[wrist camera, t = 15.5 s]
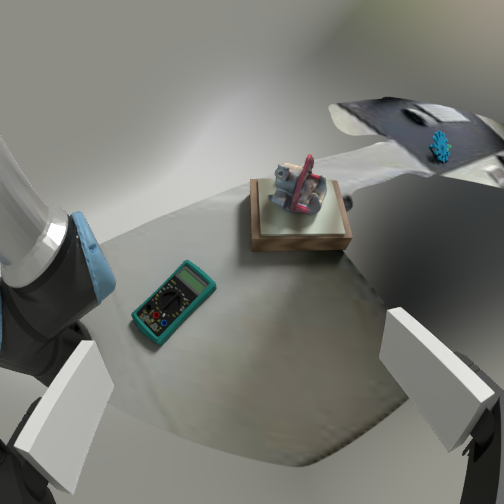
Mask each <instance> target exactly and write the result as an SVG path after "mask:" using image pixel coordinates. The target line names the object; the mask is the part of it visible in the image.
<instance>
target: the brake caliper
mask: <svg viewBox="0 0 504 504" xmlns="http://www.w3.org/2000/svg"><path fill="white" fill-rule="evenodd" d="M313 165H314V159H313V157H312V155H311V154H309V155H308V156H307V158H306V162H305V165H304V167H303V168H302V167H300V166H296V165H292V164H288V163H283V164H282V165H281V164H279V165H278V168H277V170H276V171H275V176H276V180H275V185H276V188H277V189H276V192H275V195H268V199H269V200H270V201H272V202H273V203H274V204H276V205H278V206H280V207H282V208H283V209H284V210H285V211H288V212H292V213H293V212H300V213H305V214H307V215H311V214H316V213H318V212H319V211H320V209H321V207H322V202H323V200H324V198H325V196H326V193H327V186H326V179H325V177H324V176H322V175H321V176H318V175H314V174H312V168H313Z"/></svg>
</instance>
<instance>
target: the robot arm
mask: <svg viewBox="0 0 504 504" xmlns="http://www.w3.org/2000/svg"><path fill="white" fill-rule="evenodd" d="M0 264H1V275H2V277H0V367H2V368H6V369H9V370H12V371H16V372H20V373H24V374H28V375H31V376H34V377H35V378H36V379H37V380H39V381H40V382H42V383H43V384H44V385H45V386H47V387H48V389H47V391H46V393H45V394H44V396H43V397H39V398H38V399H37V400H36V401H34V402H33V403H32V404H31V406H30V407H29V409H28V411H27V413H26V414H25V415H24V417H23V418H22V421H21V422H20V423H19V425H18V427H17V428H16V430H15V432H14V433H13V435H12V437H11V439H10V440H9V442H8V444H7V445H5V444H4V443H3V442H2V440H1V439H0V504H56V502H55V500H54V498H53V495H52V493H51V491H50V489H49V488H48V487H47V485H48V483H51V484H52V485H53V486H54V487H55V488H56V489H58V490H60V491H63V492H66V493H68V494H71V495H73V494H74V491H75V488H76V485H77V482H78V479H79V476H80V473H81V470H82V467H83V464H84V461H85V458H86V456H87V453H88V450H89V448H90V445H91V442H92V440H93V437H94V434H95V432H96V429H97V427H98V424H99V422H100V419H101V417H102V414H103V412H104V410H105V407H106V405H107V402H108V400H109V398H110V395H111V393H112V391H113V388H114V384H113V382H112V380H111V378H110V376H109V373H108V371H107V369H106V367H105V364H104V362H103V359H102V357H101V355H100V352H99V350H98V347H97V344H96V342H95V341H92V340H91V337H90V334H89V332H88V330H87V329H86V327H85V326H84V325H83V324H82V323H81V322H80V321H79V319H80V318H82V317H83V316H84V315H86V314H87V313H88V312H90V311H91V310H92V309H94V308H95V307H96V306H99V305H100V304H101V301H103V300H104V299H105V298H106V297H107V296H108V295H109V294H111V293H112V292H113V290H114V289H115V286H116V279H115V276H114V274H113V272H112V270H111V268H110V266H109V264H108V262H107V260H106V258H105V256H104V254H103V252H102V250H101V248H100V246H99V244H98V243H97V240H96V239H95V236H94V234H93V232H92V230H91V228H90V226H89V224H88V222H87V220H86V218H85V217H84V215H83V213H82V212H80V211H78V212H76V213H72V214H71V215H70V217H69V215H68V214H67V213H66V211H65V210H64V209H63V208H62V207H61V206H59V205H55V204H48V205H45V204H44V203H43V201H42V200H41V198H40V197H39V196H38V194H37V193H36V191H35V190H34V188H33V187H32V186H31V184H30V183H29V181H28V180H27V178H26V176H25V175H24V174H23V172H22V170H21V169H20V167H19V165H18V164H17V162H16V161H15V159H14V158H13V156H12V154H11V152H10V151H9V149H8V147H7V145H6V144H5V142H4V140H3V138H2V136H1V135H0ZM379 359H380V360H381V361H382V363H383V364H384V365H385V366H386V368H387V369H388V370H389V372H390V373H391V374H392V376H393V377H394V378H395V380H396V381H397V382H398V383H399V385H400V386H401V387H402V389H403V390H404V391H405V393H406V394H407V395H408V397H409V398H410V399H411V401H412V402H413V404H414V405H415V406H416V408H417V409H418V410H419V412H420V413H421V414H422V416H423V417H424V419H425V420H426V421H427V422H428V424H429V425H430V427H431V428H432V430H433V431H434V432H435V434H436V435H437V437H438V438H439V439H440V441H441V442H442V444H443V445H444V447H445V448H446V449H447V451H448V452H450V451H452V450H454V449H455V448H457V447H459V446H460V445H462V444H463V443H464V441H465V440H466V439H467V437H468V436H469V434H470V435H471V436H472V437H473V439H472V440H471V441H470V443H469V444H468V445H467V447H466V448H465V450H464V451H463V453H462V455H463V456H464V455H465V454H466V452H467V451H468V450H469V453H468V456H469V458H468V465H467V471H466V477H465V483H464V487H463V492H462V497H461V501H460V504H504V390H502V389H501V388H500V387H499V386H498V385H497V384H496V383H495V382H494V381H493V380H492V379H491V378H490V377H489V376H487V375H486V374H485V373H484V372H483V371H482V370H480V368H479V367H478V366H477V365H474V363H473V362H472V361H471V360H470V359H469V358H468V357H467V356H465V355H463V354H461V353H459V352H454V353H453V352H451V351H450V350H449V349H448V348H447V347H446V346H445V345H444V344H443V343H441V342H440V341H439V340H438V339H437V338H436V337H435V336H433V335H432V334H431V333H430V332H429V331H428V330H427V329H426V328H424V327H423V326H422V325H421V324H420V323H419V322H417V321H416V320H415V319H414V318H413V317H412V316H410V315H409V314H408V313H407V312H406V311H405V310H403V309H402V308H401V307H399V308H394V309H390V310H387V315H386V322H385V328H384V334H383V339H382V345H381V350H380V355H379Z"/></svg>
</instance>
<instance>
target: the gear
mask: <svg viewBox="0 0 504 504" xmlns="http://www.w3.org/2000/svg"><path fill="white" fill-rule="evenodd" d="M434 134H435V136H433V138H432V139H433V140H434V141H435V143H433V145H430V146H429V147H430V148H436V149H437V151H434V153H435V155H438V153H439V156H437V159H438V160H441V162H445V160H448V157H447V156H449V155H450V153H449V152H448V150H450V148H451V145H447V144H446V143H448V139H445V140H444V137H445V134H444V133H442V132H441V131H438V132H435V133H434ZM441 134H442V136H441ZM441 157H442V158H441Z"/></svg>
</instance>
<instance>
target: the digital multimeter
mask: <svg viewBox="0 0 504 504" xmlns="http://www.w3.org/2000/svg"><path fill="white" fill-rule="evenodd" d="M215 290H216V284H215V282H214V281H213V280H212V279H211V278H210V277H209V276H208V275H207V274H206V273H205V272H204V271H202V270H201V269H200V268H199V267H197V266H196V265H195V264H193V263H192V262H190V261H189V260H185V261H184V262H183V263H182V264H181V265H180V266H179V267H178V268H177V270H176V271H175V272H174V273H173V274H172V275H171V276H170V277H169V278H168V279H167V280H166V281H165V282H164V283H163V284H162V285H161V286H160V287H159V288H158V289H157V290H156V291H155V292H154V293H153V294H152V295H151V296H150V297H149V298H148V299H147V300H146V301H145V302H144V303H143V304H142V305H140V306H139V307H138V308H137V309H136V310H135V311H134V312H133V313H132V315H131V316H132V318H133V320H134V322H135V324H136V325H137V327H138V328H139V330H140V331H141V332H142V333H143V334H144V335H145V336H147V337H148V338H149V339H151V340H152V341H154V342H155V343H157V344H159V345H163V344H164V343H165V342H166V340H167V339H168V338H169V337H170V336H171V335H172V333H173V332H174V331H175V330H176V329H177V328H178V327H179V326H180V325H181V323H182V322H183V321H184V320H185V319H186V318H187V317H188V316H189V315H190V314H191V313H192V312H193V311H194V310H195V309H196V308H197V307H198V306H199V305H200V304H201V303H202V302H203V301H204V300H205V299H206V298H207V297H208V296H209V295H211V294H212V293H213V292H214V291H215ZM159 299H160V300H159ZM165 311H166V312H165ZM177 317H178V318H177ZM176 318H177V319H176Z"/></svg>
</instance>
